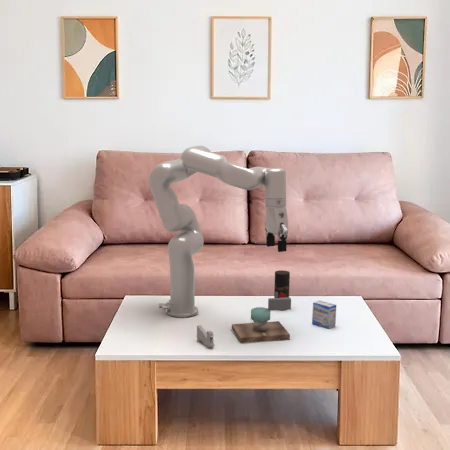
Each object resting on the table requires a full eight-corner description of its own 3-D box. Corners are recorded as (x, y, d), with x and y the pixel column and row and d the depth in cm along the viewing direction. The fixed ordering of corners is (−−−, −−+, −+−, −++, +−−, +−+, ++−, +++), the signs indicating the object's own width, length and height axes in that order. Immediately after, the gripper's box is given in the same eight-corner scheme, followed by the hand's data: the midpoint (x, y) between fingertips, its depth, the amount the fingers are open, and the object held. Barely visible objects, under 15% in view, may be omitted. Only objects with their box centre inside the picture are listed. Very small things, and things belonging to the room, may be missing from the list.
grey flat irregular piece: (200, 340, 244) (215, 348, 235) (196, 340, 243) (211, 349, 235) (200, 324, 243) (215, 332, 234) (196, 325, 242) (211, 333, 234)
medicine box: (311, 324, 260) (312, 302, 258) (318, 321, 263) (319, 299, 262) (329, 329, 255) (329, 307, 253) (335, 326, 258) (336, 304, 256)
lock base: (240, 343, 241) (240, 326, 239) (231, 329, 254) (231, 313, 253) (289, 339, 244) (290, 323, 243) (278, 326, 258) (279, 310, 256)
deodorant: (291, 307, 279) (292, 271, 276) (284, 311, 274) (285, 275, 271) (278, 305, 282) (279, 269, 279) (271, 308, 277) (272, 272, 274)
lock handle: (253, 322, 244) (253, 303, 242) (248, 315, 250) (249, 297, 249) (292, 319, 247) (293, 300, 245) (287, 313, 253) (287, 295, 252)
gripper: (295, 204, 241) (296, 252, 244) (274, 198, 257) (275, 243, 260) (276, 206, 239) (277, 254, 242) (256, 200, 254) (257, 245, 258)
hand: (276, 248), depth 251 cm, fingers open, 9 cm apart
